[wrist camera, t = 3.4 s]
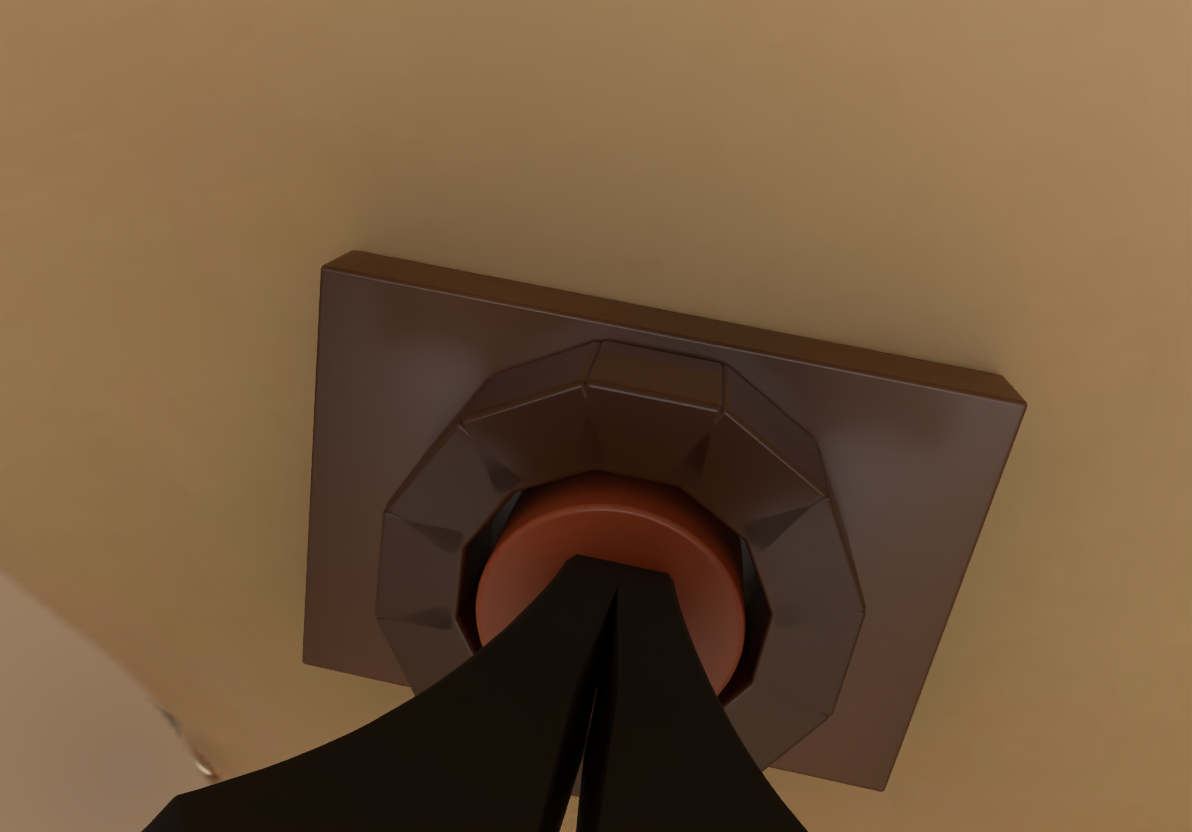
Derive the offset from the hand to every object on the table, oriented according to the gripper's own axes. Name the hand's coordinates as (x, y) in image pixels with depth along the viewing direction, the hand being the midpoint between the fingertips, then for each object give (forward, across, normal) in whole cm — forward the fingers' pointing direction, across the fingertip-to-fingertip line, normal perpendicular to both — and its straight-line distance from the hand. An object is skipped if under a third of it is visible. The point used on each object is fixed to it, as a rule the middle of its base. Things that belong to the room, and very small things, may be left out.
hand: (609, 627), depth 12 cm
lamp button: (+2, 0, 0) cm, 2 cm away
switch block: (+3, 0, 0) cm, 3 cm away
